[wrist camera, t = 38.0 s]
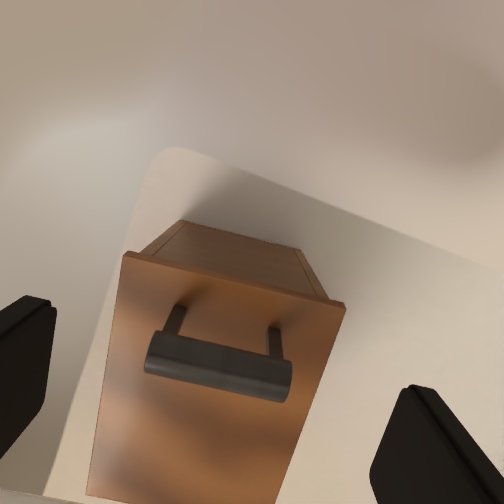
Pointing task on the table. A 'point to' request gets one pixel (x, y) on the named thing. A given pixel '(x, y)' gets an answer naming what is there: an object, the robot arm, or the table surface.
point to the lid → (205, 385)
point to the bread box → (236, 256)
